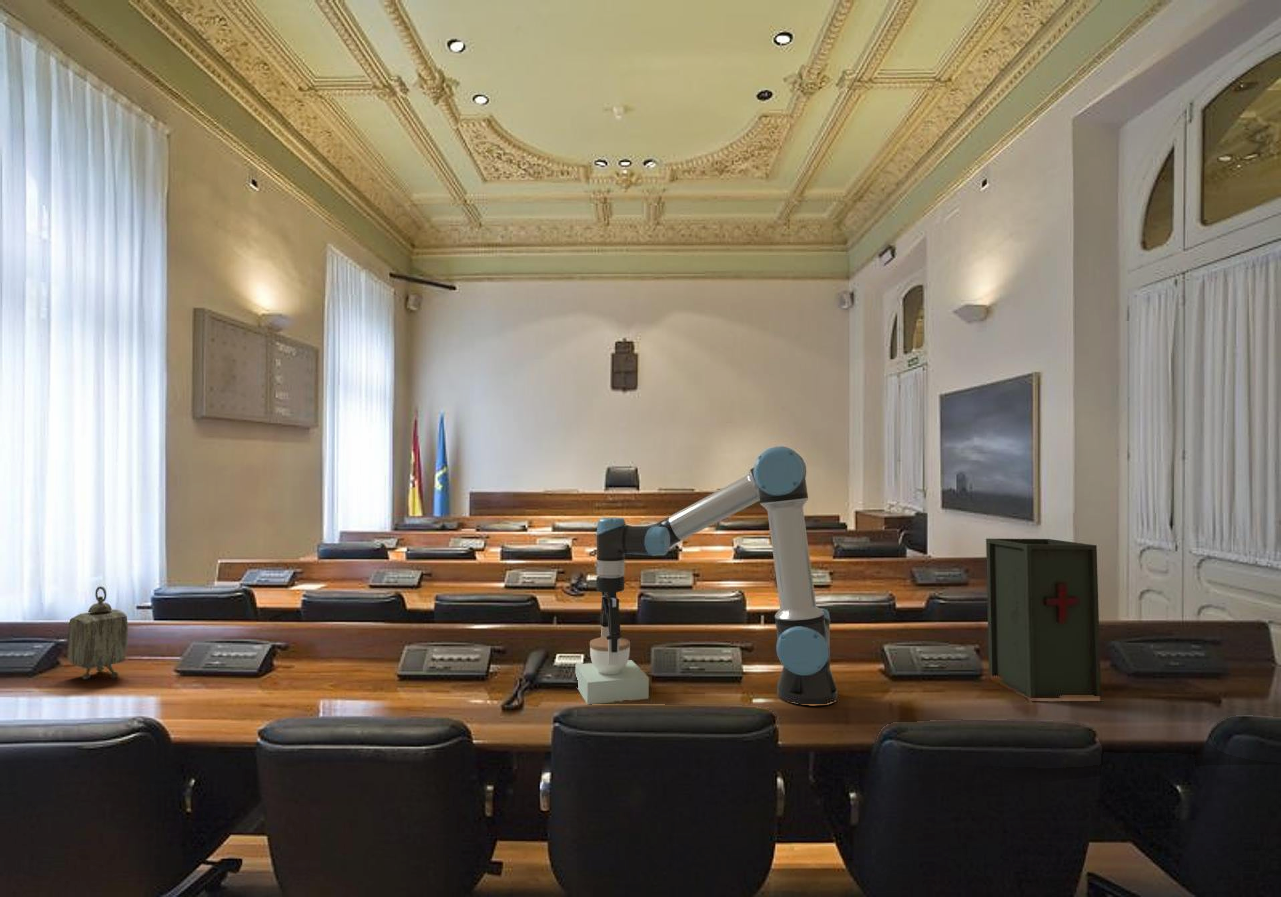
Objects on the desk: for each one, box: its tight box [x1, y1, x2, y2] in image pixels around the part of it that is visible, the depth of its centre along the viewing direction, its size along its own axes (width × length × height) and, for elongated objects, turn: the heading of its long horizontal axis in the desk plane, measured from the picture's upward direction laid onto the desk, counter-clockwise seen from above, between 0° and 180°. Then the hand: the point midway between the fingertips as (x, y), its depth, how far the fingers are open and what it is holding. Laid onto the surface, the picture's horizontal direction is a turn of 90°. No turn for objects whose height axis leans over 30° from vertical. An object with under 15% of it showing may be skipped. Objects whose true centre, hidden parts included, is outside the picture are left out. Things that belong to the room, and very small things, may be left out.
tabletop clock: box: [67, 585, 128, 680], centre depth 175 cm, size 14×9×25 cm, turn 58°
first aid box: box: [985, 538, 1102, 698], centre depth 171 cm, size 18×18×40 cm
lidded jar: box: [589, 635, 631, 675], centre depth 166 cm, size 11×11×9 cm
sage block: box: [574, 659, 650, 705], centre depth 166 cm, size 16×16×6 cm
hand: (609, 657), depth 166 cm, fingers open, 12 cm apart
